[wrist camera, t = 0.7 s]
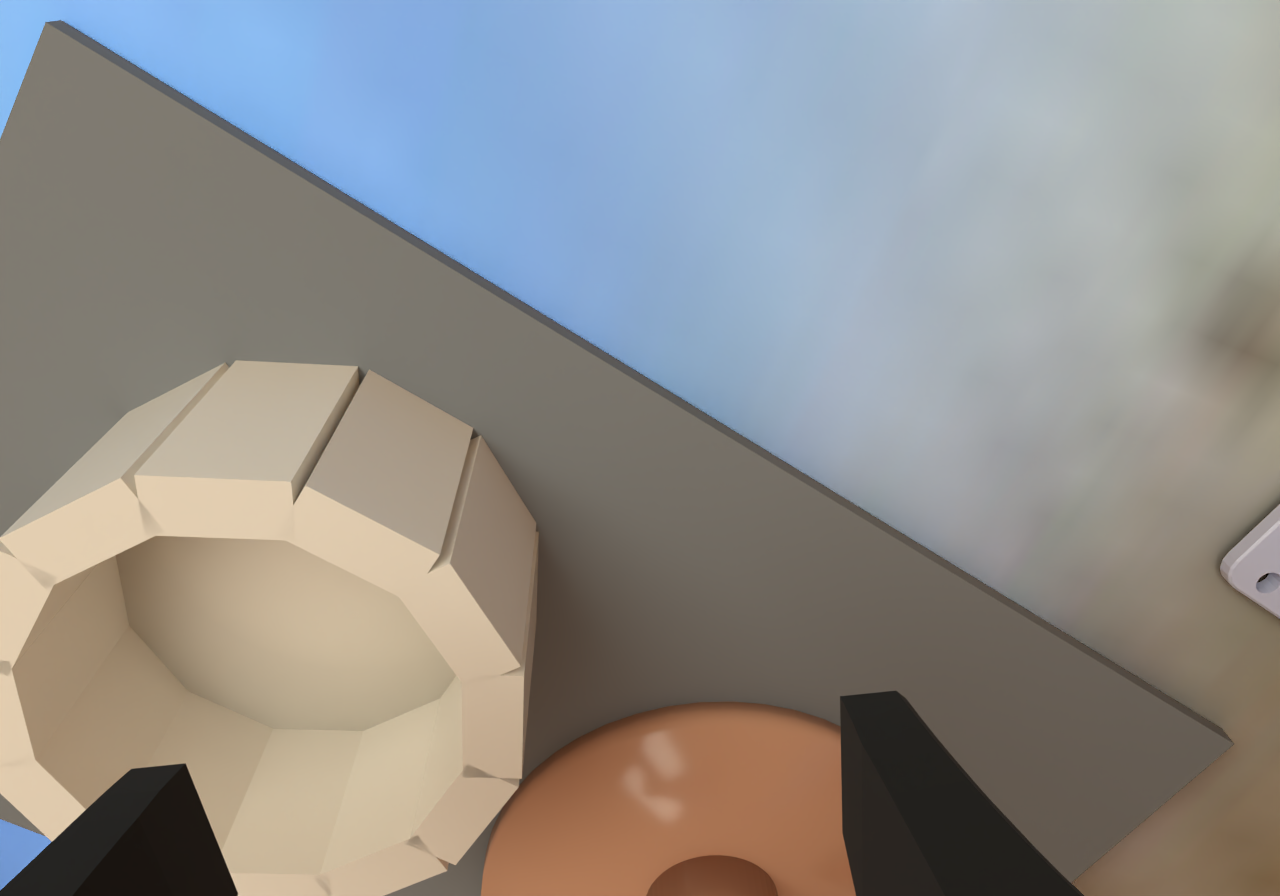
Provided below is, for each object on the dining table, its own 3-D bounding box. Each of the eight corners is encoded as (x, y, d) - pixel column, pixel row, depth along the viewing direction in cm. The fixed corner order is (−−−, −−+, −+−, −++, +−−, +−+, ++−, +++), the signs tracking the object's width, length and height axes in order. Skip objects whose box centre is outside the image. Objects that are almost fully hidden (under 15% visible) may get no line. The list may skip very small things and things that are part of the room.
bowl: (622, 511, 20) (628, 651, 16) (407, 795, 23) (367, 973, 19) (194, 271, 18) (73, 365, 14) (18, 625, 21) (-122, 788, 17)
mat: (1222, 729, 24) (1234, 744, 23) (788, 1104, 30) (791, 1121, 29) (60, 20, 16) (45, 22, 16) (-213, 714, 22) (-230, 730, 22)
